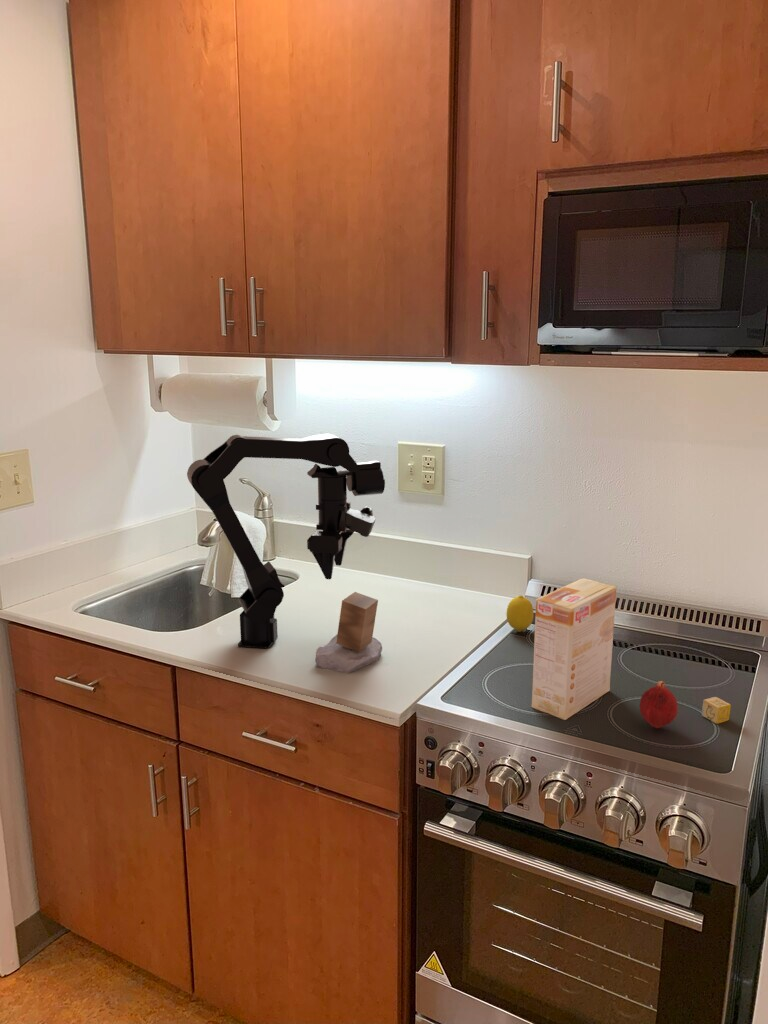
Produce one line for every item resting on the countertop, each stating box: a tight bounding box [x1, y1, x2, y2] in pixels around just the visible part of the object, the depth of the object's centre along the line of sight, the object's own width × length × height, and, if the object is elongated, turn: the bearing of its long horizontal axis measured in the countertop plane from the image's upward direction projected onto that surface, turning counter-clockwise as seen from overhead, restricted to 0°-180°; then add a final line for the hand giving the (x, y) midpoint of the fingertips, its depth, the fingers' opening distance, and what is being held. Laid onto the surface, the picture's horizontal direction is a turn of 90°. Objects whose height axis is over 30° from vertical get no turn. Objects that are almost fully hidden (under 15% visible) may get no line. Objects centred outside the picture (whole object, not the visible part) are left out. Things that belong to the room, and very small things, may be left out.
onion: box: [639, 680, 679, 729], centre depth 129 cm, size 6×6×8 cm
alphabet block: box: [701, 696, 732, 725], centre depth 133 cm, size 3×3×3 cm
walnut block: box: [336, 591, 379, 652], centre depth 153 cm, size 5×5×9 cm
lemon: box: [506, 594, 535, 633], centre depth 168 cm, size 6×6×8 cm
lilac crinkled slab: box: [314, 634, 383, 674], centre depth 156 cm, size 12×5×10 cm
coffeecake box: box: [531, 577, 618, 721], centre depth 138 cm, size 15×7×20 cm, turn 136°
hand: (333, 572), depth 167 cm, fingers open, 9 cm apart
